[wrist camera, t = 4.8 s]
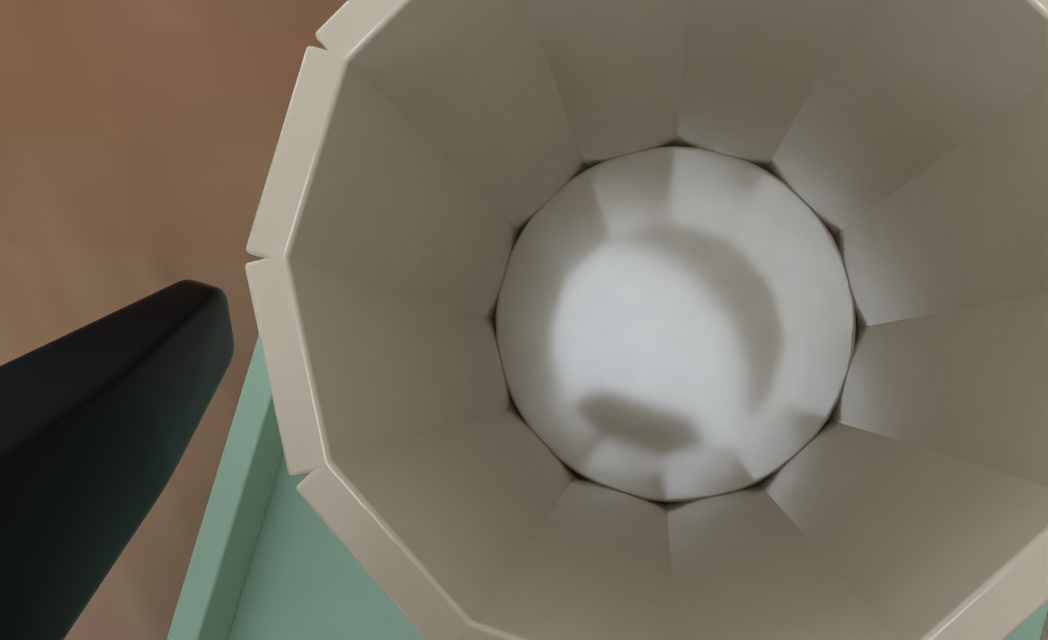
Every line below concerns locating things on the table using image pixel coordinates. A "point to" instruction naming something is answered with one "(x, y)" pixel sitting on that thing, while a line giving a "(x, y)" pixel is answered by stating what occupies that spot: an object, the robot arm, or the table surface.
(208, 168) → the table surface
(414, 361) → the cup
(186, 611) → the tray
